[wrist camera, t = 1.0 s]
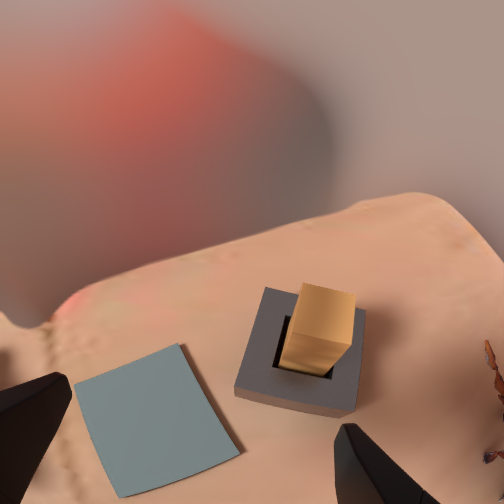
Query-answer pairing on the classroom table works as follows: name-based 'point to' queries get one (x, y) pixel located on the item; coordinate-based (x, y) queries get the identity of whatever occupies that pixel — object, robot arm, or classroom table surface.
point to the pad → (152, 423)
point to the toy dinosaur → (500, 386)
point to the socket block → (290, 383)
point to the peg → (318, 331)
